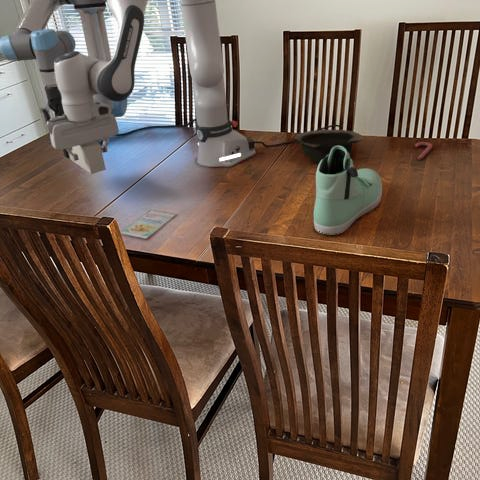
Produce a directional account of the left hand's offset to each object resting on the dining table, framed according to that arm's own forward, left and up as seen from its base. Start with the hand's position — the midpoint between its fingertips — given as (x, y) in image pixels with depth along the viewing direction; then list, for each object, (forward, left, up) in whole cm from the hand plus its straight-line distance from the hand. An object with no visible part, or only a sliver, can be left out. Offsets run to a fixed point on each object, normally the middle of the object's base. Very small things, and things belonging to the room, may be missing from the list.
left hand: (75, 154), depth 161 cm
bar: (0, +8, -1) cm, 8 cm away
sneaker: (-50, +76, -11) cm, 92 cm away
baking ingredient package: (-3, +42, -11) cm, 44 cm away
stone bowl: (-76, +43, -11) cm, 88 cm away
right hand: (0, +16, +4) cm, 16 cm away
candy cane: (-100, +66, -11) cm, 120 cm away
